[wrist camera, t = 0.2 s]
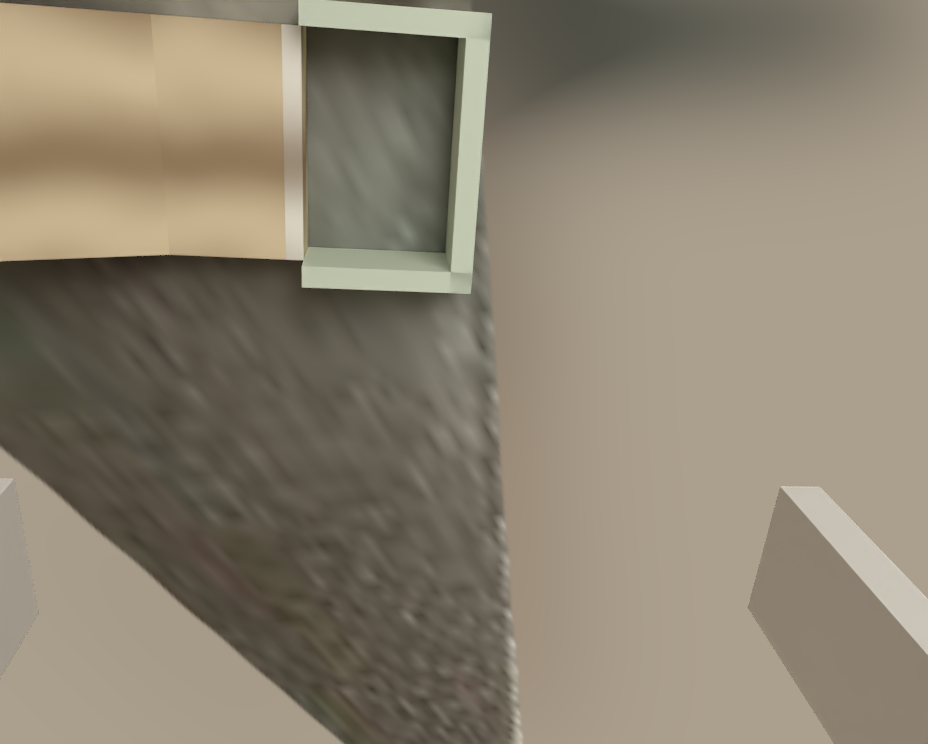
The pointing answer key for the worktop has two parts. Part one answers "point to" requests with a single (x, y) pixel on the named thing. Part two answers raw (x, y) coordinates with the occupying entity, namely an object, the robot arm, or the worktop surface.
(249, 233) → the ramp lane
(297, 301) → the worktop surface
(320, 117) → the worktop surface
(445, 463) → the worktop surface
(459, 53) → the tray
